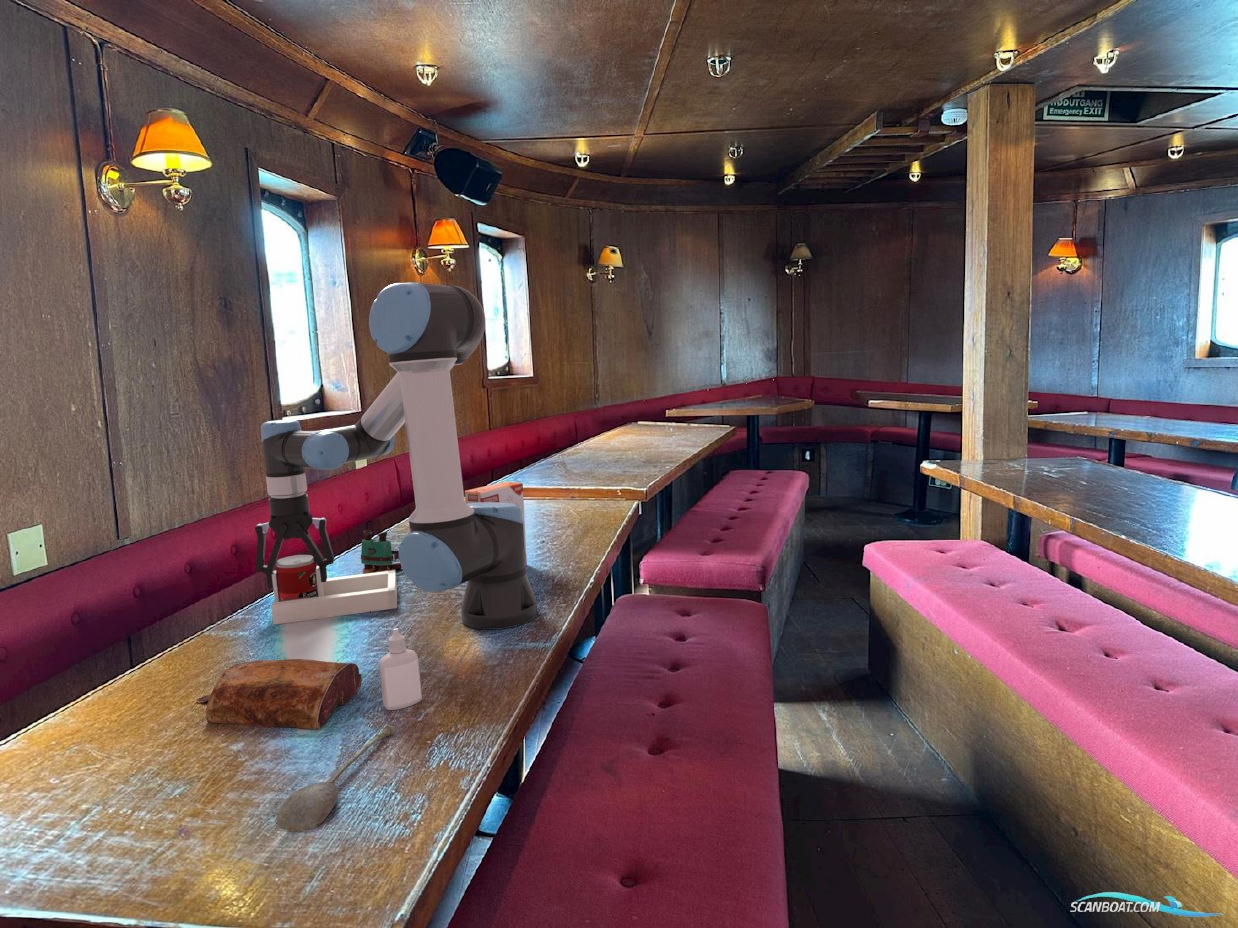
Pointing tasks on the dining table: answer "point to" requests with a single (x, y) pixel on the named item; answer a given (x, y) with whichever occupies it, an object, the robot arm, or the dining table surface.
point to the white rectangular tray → (341, 598)
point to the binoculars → (378, 554)
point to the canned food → (296, 577)
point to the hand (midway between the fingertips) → (299, 599)
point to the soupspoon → (317, 796)
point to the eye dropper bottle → (399, 674)
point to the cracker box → (499, 497)
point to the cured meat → (281, 693)
